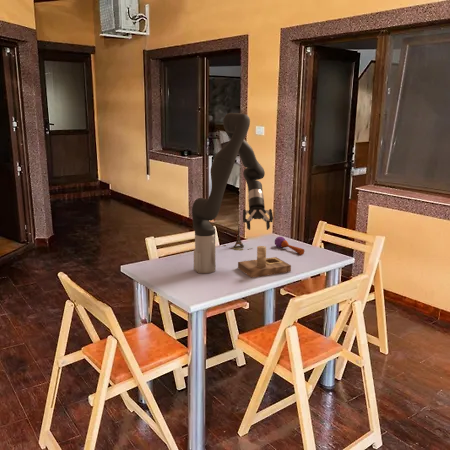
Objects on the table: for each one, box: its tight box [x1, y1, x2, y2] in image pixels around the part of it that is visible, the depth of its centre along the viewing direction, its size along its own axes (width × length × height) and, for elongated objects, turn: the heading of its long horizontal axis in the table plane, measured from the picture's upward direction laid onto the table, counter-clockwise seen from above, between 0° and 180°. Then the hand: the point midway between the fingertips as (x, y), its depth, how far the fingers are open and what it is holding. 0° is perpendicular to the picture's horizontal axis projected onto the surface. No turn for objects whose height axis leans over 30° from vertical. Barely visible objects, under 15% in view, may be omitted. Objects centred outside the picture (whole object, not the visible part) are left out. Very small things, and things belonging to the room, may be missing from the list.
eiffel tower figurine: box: [222, 225, 253, 252], centre depth 256 cm, size 15×10×13 cm
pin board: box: [237, 256, 292, 279], centre depth 219 cm, size 20×14×3 cm
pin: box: [256, 245, 267, 268], centre depth 214 cm, size 4×4×9 cm
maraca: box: [274, 236, 305, 256], centre depth 251 cm, size 6×6×20 cm
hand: (258, 229), depth 223 cm, fingers open, 8 cm apart
